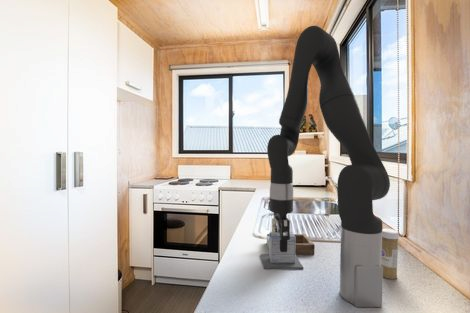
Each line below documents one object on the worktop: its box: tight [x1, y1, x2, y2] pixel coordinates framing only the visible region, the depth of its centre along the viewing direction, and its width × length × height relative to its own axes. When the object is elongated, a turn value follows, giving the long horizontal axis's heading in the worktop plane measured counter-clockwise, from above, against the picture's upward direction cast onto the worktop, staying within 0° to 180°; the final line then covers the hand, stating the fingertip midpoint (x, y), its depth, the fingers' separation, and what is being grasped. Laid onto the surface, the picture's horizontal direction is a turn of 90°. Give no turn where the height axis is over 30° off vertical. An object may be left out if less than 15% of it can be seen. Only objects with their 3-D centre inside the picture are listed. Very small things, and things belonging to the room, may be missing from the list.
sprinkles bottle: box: [381, 228, 400, 280], centre depth 76 cm, size 5×5×14 cm
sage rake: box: [266, 217, 275, 250], centre depth 97 cm, size 7×4×11 cm, turn 1°
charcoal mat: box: [260, 253, 304, 270], centre depth 85 cm, size 10×12×1 cm
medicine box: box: [268, 231, 296, 263], centre depth 85 cm, size 8×4×9 cm, turn 91°
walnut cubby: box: [266, 233, 316, 256], centre depth 97 cm, size 11×15×4 cm
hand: (280, 246), depth 85 cm, fingers open, 8 cm apart
